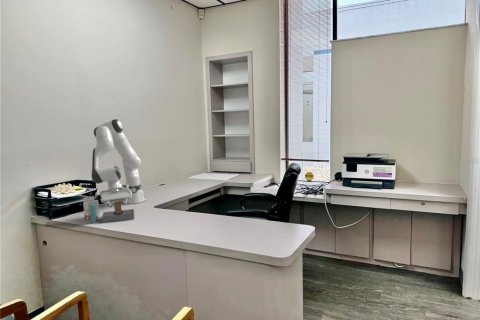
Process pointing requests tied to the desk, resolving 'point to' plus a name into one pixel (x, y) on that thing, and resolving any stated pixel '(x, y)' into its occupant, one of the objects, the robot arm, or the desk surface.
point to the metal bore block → (118, 215)
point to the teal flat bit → (93, 212)
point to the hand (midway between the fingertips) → (118, 205)
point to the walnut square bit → (117, 207)
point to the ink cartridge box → (87, 206)
